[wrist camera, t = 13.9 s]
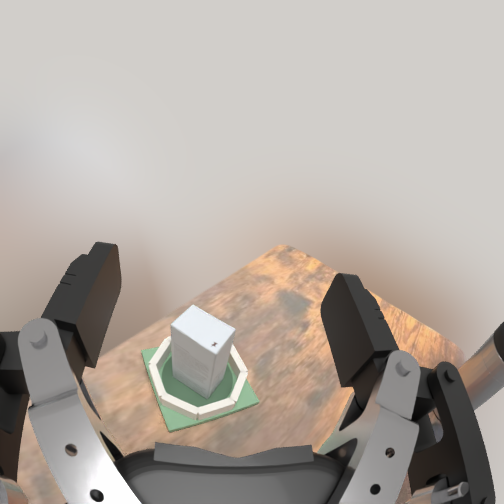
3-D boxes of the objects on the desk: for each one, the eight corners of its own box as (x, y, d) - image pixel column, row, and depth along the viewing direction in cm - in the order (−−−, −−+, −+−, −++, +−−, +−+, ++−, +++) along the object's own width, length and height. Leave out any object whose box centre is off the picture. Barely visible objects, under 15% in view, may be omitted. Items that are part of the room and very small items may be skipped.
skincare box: (223, 379, 36) (238, 329, 29) (207, 400, 33) (216, 355, 26) (188, 357, 38) (192, 302, 31) (171, 376, 34) (168, 324, 27)
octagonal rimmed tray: (220, 336, 43) (223, 322, 41) (257, 403, 35) (263, 394, 33) (141, 353, 37) (139, 340, 35) (169, 432, 28) (168, 425, 26)
